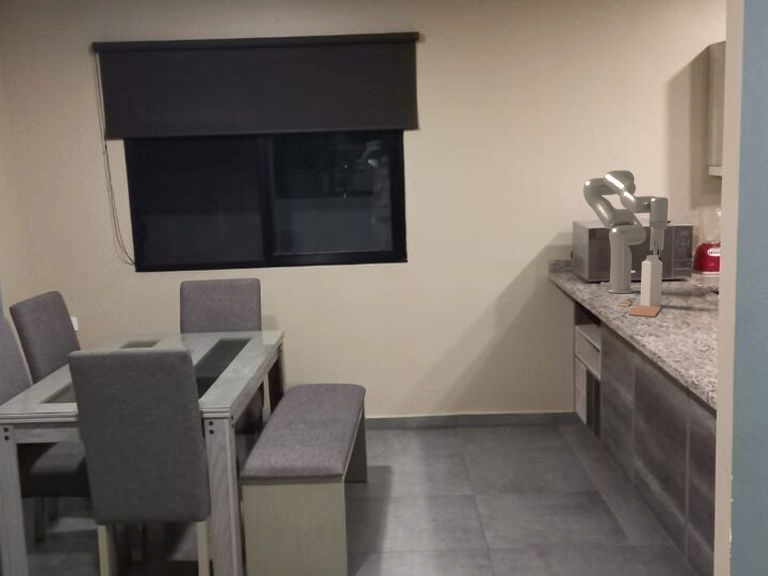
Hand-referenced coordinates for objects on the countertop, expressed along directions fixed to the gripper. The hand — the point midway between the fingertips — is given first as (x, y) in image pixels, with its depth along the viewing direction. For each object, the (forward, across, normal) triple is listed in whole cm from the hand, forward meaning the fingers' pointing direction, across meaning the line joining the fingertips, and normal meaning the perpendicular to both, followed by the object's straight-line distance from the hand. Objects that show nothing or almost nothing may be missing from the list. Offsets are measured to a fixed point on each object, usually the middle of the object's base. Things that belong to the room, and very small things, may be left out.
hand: (656, 266), depth 337 cm
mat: (+15, +29, 0) cm, 33 cm away
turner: (+15, +14, -10) cm, 23 cm away
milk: (+15, +14, 0) cm, 21 cm away
